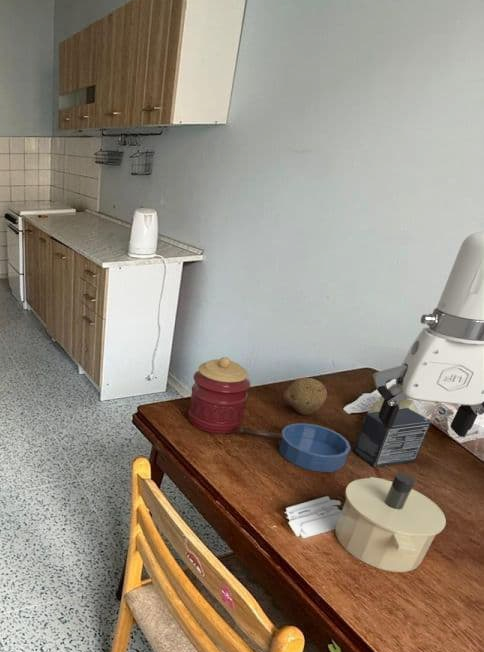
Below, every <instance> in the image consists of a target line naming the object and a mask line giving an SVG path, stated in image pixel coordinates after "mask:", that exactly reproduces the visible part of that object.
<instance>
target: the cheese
mask: <svg viewBox="0 0 484 652" xmlns="http://www.w3.org/2000/svg"><path fill="white" fill-rule="evenodd" d="M395 385H396V383H393V384H391V385H390V386H389V387H387V389H390V388H391V387H393V386H395ZM383 401H384V398H383V397H382V396H381V397H380V398H379V399H377V400H376V402H375V403H374V404H372V406H371V407H370V409H368V411H367V413H371V412H379V411H380V409H381V407H382V404H383ZM397 405H398V406H399V409H403V408H409V409H411V410H412V411H414V412H416V413H418V414H419V409H418V406H417V405H416V404H415V402H414V401H413V399H411V398H407V399H405V400H403V401H401V402H400V403H398V404H397ZM364 420H365V418H364V419H363V421H364Z"/></svg>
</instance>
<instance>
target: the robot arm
mask: <svg viewBox="0 0 484 652" xmlns="http://www.w3.org/2000/svg"><path fill="white" fill-rule="evenodd" d="M420 323H421V324H422V325H427V326H428V327H423V328H422V330H421V331H420V333H419V334H418V335H417V337H416V338H415V340H414V341H413V343H412V344H411V346H410V348H409V350H408V351H407V353H406V355H405V357H404V360H403V361H402V363H401V365H399V366H394V367H391V368H387V369H384V370H380V371H376V372H374V373H373V374H372V375H371V376H372V380H373V383H374V386H375V389H376V391H377V392H378V393H379V395H380V396H381V397H383V398H384V401H383V404H382V407H381V409H380V412H379V419H380V420H381V422H382V423H383V425H384V426H385V428H392V426H393V423H394V421H395V418H396V416H397V413H398V411H399V406H398V405H397V404H398V403H400V402H401V401H403V400H405V399H407V398H409V399H410V400H414V401H421V402H429V403H430V402H431V403H440V404H450V405H458V406H459V405H460V406H459V407H458V408H457V410H456V412H455V415H454V417H453V419H452V421H451V423H450V426H449V427H450V429H452V431H453V432H454V433H455V434H456V436H458V437H460V438H465V437H466V436H467V434H468V432H469V431H471V429H472V428H473V425H474V424H475V421H476V419H477V417H478V416H482V415H483V414H484V231H478V232H474V233H471V234H470V235H468V236H467V237H466V238H465V239H464V240H463V241H462V243H461V244H460V247H459V250H458V251H457V254H456V257H455V260H454V262H453V265H452V267H451V269H450V273H449V275H448V277H447V280H446V282H445V285H444V287H443V290H442V293H441V295H440V298H439V301H438V303H437V306H436V307H435V308H434V309H433V311H432V313H429V314H422V315H421V316H420ZM394 379H395V384H396V385H395V386H393V387H391V386H390V387H391V388H390V389H388V387H387V382H388V381H391V380H394Z"/></svg>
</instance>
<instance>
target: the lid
mask: <svg viewBox="0 0 484 652" xmlns="http://www.w3.org/2000/svg"><path fill="white" fill-rule="evenodd" d="M382 479H383V478H381V479H373V478H370V477H368V478H367V477H365V478H357V479H355V480H353V481H351V482H350V483H348V484H347V486H346V488H345V491H344V496H345V500H346V499H347V501H348V503H349V504H350V506H351V507H352V508H353V509H354V510H355V511H356V512H357V513H358V514H359V515H361V516H362V517H364V518H365V519H366V520H368V521H370V522H371V523H373V524H375V525H377V526H379V527H382V528H384V529H386V530H389V531H392V532H395V533H398V534H403V535H407V536H414V537H429V536H434V535H435V536H436V535H439V534H440V533H441V532H443V530H444V529H445V527H446V525H447V519H446V516H445V514H444V512H443V510H441V508H440V507H439V506H438V505H437V504H436V503H435V502H434V501H433V500H432V499H430V498H429V497H427V496H425V495H424V494H422V493H421V492H419V491H417V490H415V489H413V487H414V485H415V484H416V480H415V478H414V477H413V476H411V475H409V474H406V473H400V472H398V473H396V474H395V475H394V478H393V480H387V479H385V480H382Z"/></svg>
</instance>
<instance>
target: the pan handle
mask: <svg viewBox="0 0 484 652" xmlns="http://www.w3.org/2000/svg"><path fill="white" fill-rule="evenodd" d="M237 430H238V433H239V434H240V435H244V436H250V437H256V438H263V439H270V440H276V441H279V440H281V439H282V434H281V432H276V431H275V432H274V431H268V430H262V429H255V428H249V427H243V426H240V427H239V428H238V429H237Z"/></svg>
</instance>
